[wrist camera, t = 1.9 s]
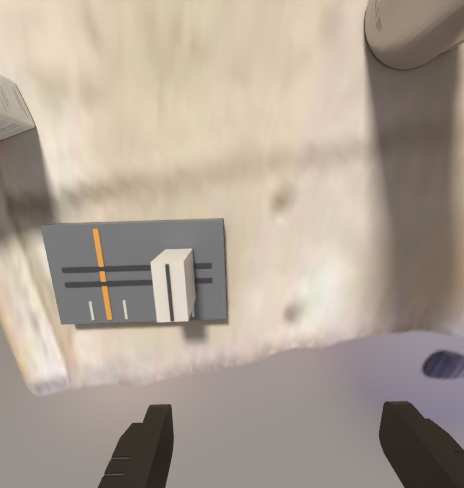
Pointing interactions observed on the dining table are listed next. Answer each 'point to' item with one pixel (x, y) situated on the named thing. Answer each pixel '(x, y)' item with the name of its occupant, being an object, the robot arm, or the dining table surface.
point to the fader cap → (173, 285)
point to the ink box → (12, 110)
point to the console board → (131, 268)
